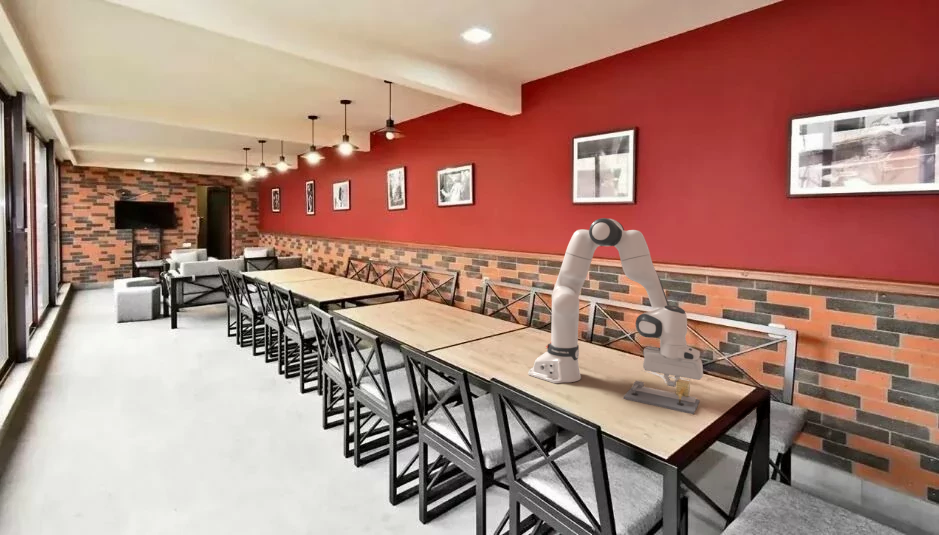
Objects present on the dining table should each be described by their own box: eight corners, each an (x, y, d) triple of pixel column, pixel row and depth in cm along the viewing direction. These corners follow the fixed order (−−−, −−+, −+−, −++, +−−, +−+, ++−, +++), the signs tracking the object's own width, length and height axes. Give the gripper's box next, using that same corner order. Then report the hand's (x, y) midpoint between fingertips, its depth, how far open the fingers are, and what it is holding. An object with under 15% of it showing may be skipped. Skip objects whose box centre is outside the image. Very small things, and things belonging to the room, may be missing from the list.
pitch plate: (623, 398, 170) (623, 388, 169) (632, 388, 179) (633, 378, 179) (693, 414, 156) (694, 403, 155) (699, 402, 165) (699, 392, 165)
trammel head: (673, 401, 162) (674, 384, 162) (677, 394, 168) (678, 379, 167) (685, 403, 160) (686, 387, 159) (689, 397, 166) (690, 381, 165)
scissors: (672, 385, 181) (633, 370, 199) (672, 387, 182) (633, 371, 199) (690, 380, 186) (650, 366, 204) (690, 382, 186) (650, 367, 204)
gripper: (641, 347, 170) (640, 382, 171) (701, 356, 158) (700, 394, 159) (645, 343, 175) (644, 377, 176) (704, 352, 163) (702, 388, 164)
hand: (671, 385), depth 168 cm, fingers closed
